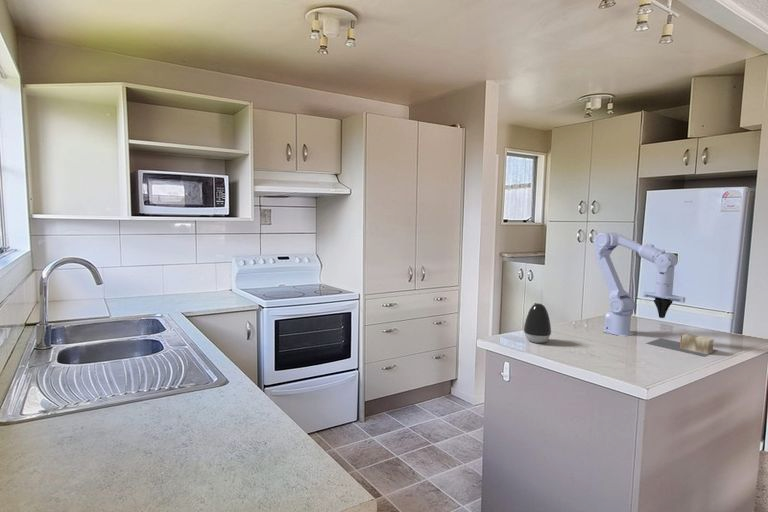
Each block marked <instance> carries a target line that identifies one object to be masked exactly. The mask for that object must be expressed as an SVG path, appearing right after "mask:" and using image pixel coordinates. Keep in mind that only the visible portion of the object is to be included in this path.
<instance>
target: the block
mask: <svg viewBox="0 0 768 512" xmlns="http://www.w3.org/2000/svg"><path fill="white" fill-rule="evenodd" d="M714 340H715V339H714V338H711V337H705V336H699V335H695V334H691V333H684V334H681V335H680V340H679V342H680V348H681V349H686V350H690V351H695V352H699V353H704V354H709V353H712V352H713V349H714ZM712 354H713V353H712Z"/></svg>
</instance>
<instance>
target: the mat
mask: <svg viewBox="0 0 768 512" xmlns="http://www.w3.org/2000/svg"><path fill="white" fill-rule="evenodd" d="M645 344H647V345H651V346H655V347H660V348H664V349H668V350H672V351H675V352H676V351H677V352H679V353H680V352H681V353H686V354H689V355H694V356H699V357H707V356H710V355H712V354H715V353H717V352H718V351H719V349H718V350H717V349H714V348H713V352H712V353H709V354H704V353H699V352H695V351H690V350H686V349H681V348H680V341H675V340H670V339H667V338H663V337H660V338H657V339H653V340H652V341H649V342H645Z"/></svg>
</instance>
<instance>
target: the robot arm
mask: <svg viewBox="0 0 768 512" xmlns="http://www.w3.org/2000/svg"><path fill="white" fill-rule="evenodd" d="M593 244H594V245H595V246H594V247H595V248H594V257H595V259H596V262H597V265H598V266H599V269H600V271H601V273H602V276H603V279H604V281H605V284H606V286H607V289H608V291H609V295H608V298H607V299H608V302H609V309H610V310H611V311H607V312H606V313H605V317H604V327H603V328H604V329H603V331H602V332H603V333H606V334H611V335H616V336H620V337H621V336H622V337H629V336H631V335H634V334H635V333H634V332H631V323H632V321H631V320H632V311H633V310H634V309H635V308H636V302H635V300H634V299H633V298H632V297H631V296H630V293H629V292H628V291H626V290H625V289H624V287H623V284H622V283H621V280H620V278H619V275H618V272H617V271H616V268H615V265H614V263H613V261H612V258H611V254H612V252H613V251H614V250H615V249H616V248H617V247H618V246H622V247H625V248H626V249H628V250H631V251H633V252H635V253H638V255H639V257H640V258H642V259H644V260H646V261H648V262H651V263H653V264H654V265H656V268H657V270H656V280H655V292H652V291H651V292H649V291H643V292H642V298H652V299H653V303H654V305H655V307H656V310H657V314H658V318H660V319H665V318H666V314H667V312H668V310H669V309H670V307H671V305H672V304H673V302H678V303H683V304H684V303H685V302H686V297H685V296H679V295H674V294H673V293H674V292H673V291H674V290H673V289H674V280H675V279H674V278H675V267H676V266H677V264H678V263H679V260H678V259H679V258H678V257H677V255H676V254H674V253H673V252H666V250H664V249H659V248H657V247H655V245H654V244H652V243H649V244H648V243H647V244H644V245H643V244H640V243H638V242H637V241H634V240H632V239H631V238H629V237H626V236H624V235H623V234H618V233H616V232H600V233H598V234H597V235H596V236H595V238H594V240H593Z"/></svg>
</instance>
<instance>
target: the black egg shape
mask: <svg viewBox="0 0 768 512" xmlns="http://www.w3.org/2000/svg"><path fill="white" fill-rule="evenodd" d="M551 325H552V324H551V320H550V315H549V312H548V309H547V308H546V307H545V305H543V304H542V303H537V302H536V303H534V304H533V305H532V306H531V307H530V309H529V310H528V313H527V315H526V318H525V322H524V326H523V332H524V335H525V337H526V339H527V340H528V341H530V342H532V343H534V344H543V343H546V342H547V341H548V340H549V338H550V337H551V335H552V327H551Z"/></svg>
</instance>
